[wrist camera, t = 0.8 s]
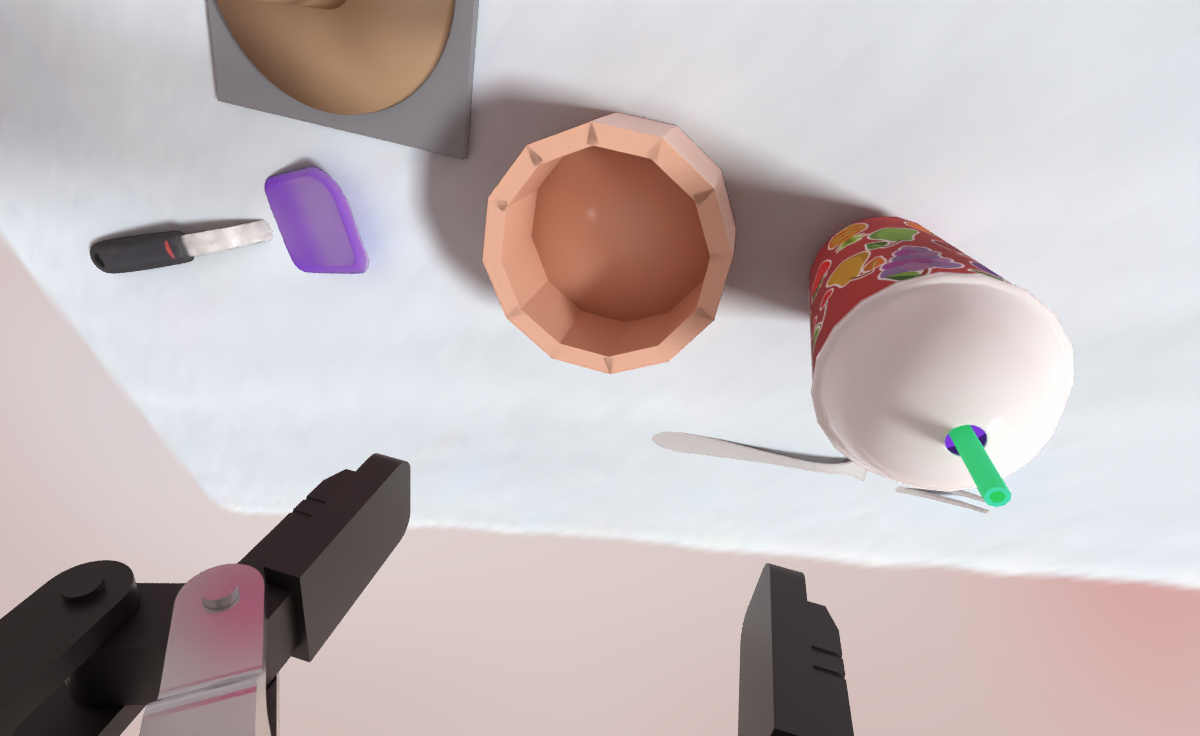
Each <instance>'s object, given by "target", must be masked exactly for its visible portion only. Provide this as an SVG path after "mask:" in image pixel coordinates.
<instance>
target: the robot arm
mask: <svg viewBox="0 0 1200 736" xmlns="http://www.w3.org/2000/svg"><path fill="white" fill-rule="evenodd" d="M409 518H410V465H409V463H408V462H406V461H403V460H399V459H396V458H392V457H389V456H385V455H381V454H378V453H375V454H373V455H371V456H370V457H369V458H368V459H367V460H366V461H365V462H364V463H363V464H362V465H361V466H360V467H359V468H358V470H357V471H356V472H355V471H351V470H348V469H345V470H343V471H341V472H339V473H337V474H335V475H333V476H331V477H329V478H327V479H325V480H323V481H322V482H321V483H320V484H319V485H318V486H317V487H316V488H315V489H314V490H313V491H312V492H311V493H310V494H309V495H308V496H307V498H306V500H303V501H302V502H301V503H300V504H298V505H297V506H296V507H295V508H294V509H293V512H292V513H289V514H288V515H287V516H286V517H285V518H284V519H283V520H282V521H281V522H280V523H279V524H278V525H277V526H276V527H275V528H274V529H273V530H272V531H271V532H270V533H269V534H268V535H267V536H265V538H263V540H261V541H260V542H259V543H258V544H257V545H256V546H255V547H254V548H253V549H252V550H251V551H250V552H249V553H248V554H247V555H246V556H245V557H244V558H243V559H242V560H241V561H240V562H238V563H237V564H226V565H220V566H216V567H213V568H211V569H208V570H205V571H203V572H201V573H200V574H198V575H196V576H195V577H193V578H192V579H191V580H189V581H188V582H187V583H180V584H176V583H171V584H169V583H136V582H135V578H134V575H133V572H132V570H131V569H130V568H129V567H128V566H127V565H125V564H123V563H120V562H117V561H109V560H103V561H94V562H89V563H85V564H81V565H78V566H75V567H73V568H71V569H69V570H66V571H64V572H62V573H60V574H59V575H57V576H55V577H54V578H52V579H51V580H49V581H48V582H47V583H46V584H44V585H43V586H42V587H40V588H39V589H38V590H37V591H35V592H34V593H33V594H32V595H30V596H29V597H28V598H27V599H25V600H24V601H23V602H22V603H20V604H19V605H18V606H17V607H15V608H14V609H13V610H12V611H10V612H9V613H8V614H7V615H5V616H4V617H3V618H1V619H0V736H120V734H121V733H122V732H123V731H124V730H125V729H126V728H127V727H128V725H129V724H130V723H131V722H132V721H133V720H134V718H135V717H136V716H137V715H138V714H139V713H140V712H141V710H142V709H143V708H144V707H145V706H146V705H147V706H146V709H145V711H144V715H143V719H142V724H141V730H140V735H139V736H279V671H280V669H281V668H282V667H283V665H284V664H285V663H286V662H287V660H288V659H289V658H290V657H291V656H292V657H295V658H298V659H301V660H304V661H307V662H310V661H311V660H312V659H313V658H314V656H315V655H316V654H317V652H318V651H319V650H320V648H321V647H322V646H323V644H324V643H325V641H326V640H327V639H328V637H329V636H330V635H331V633H332V632H333V631H334V629H335V628H336V627H337V625H338V624H339V623H340V621H341V620H342V619H343V617H344V616H345V615H346V613H347V612H348V611H349V609H350V608H351V606H352V605H353V604H354V602H355V601H356V600H357V598H358V597H359V596H360V594H361V593H362V592H363V590H364V589H365V588H366V586H367V585H368V584H369V582H370V581H371V579H372V578H373V577H374V575H375V574H376V573H377V571H378V570H379V569H380V567H381V566H382V565H383V563H384V562H385V561H386V559H387V558H388V556H389V555H390V554H391V552H392V551H393V550H394V548H395V547H396V546H397V544H398V543H399V542H400V540H401V539H402V537H403V535H404V533H405V531H406V528H407V526H408V522H409ZM841 657H842V650H841V643H840V636H839V630H838V628H837V626H836V625H835V623H834V621H833V619H832V618H831V616H830V614H829V612H828V610H827V609H826V607H825V606H822V605H819V604H815V603H812V602H808V601H807V594H806V584H805V577H804V574H803V573H801V572H798V571H794V570H791V569H787V568H783V567H780V566H776V565H772V564H769V563H767V564H766V565H765V566H764V568H763V571H762V573H761V576H760V578H759V581H758V583H757V586H756V589H755V591H754V594H753V596H752V599H751V601H750V604H749V606H748V609H747V612H746V615H745V619H744V622H743V628H742V634H741V646H740V683H739V722H738V736H854V733H853V726H852V720H851V712H850V706H849V699H848V691H847V685H846V680H845V679H844V677H845V671H844V664H843V659H842V658H841Z"/></svg>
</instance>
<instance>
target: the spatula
mask: <svg viewBox="0 0 1200 736" xmlns="http://www.w3.org/2000/svg"><path fill="white" fill-rule="evenodd" d="M265 192H266V195H267V198H268V201H269V204H270V207H271V210H272V212H273V215H274V217H275V220H276V222H277V225H278V228H279V230H280V232H281V235H282V237H283V240H284V243H285V245H286V248H287V250H288V252H289V254H290V256H291V259H292V261H293V262H294V264H295V265H296V266H297V267H298V268H299V269H300V270H302V271H304V272H312V273H341V274H343V273H345V274H346V273H350V274H356V273H364V272H366V270H367V269H368V266H369V259H368V257H367V254H366V251H365V249H364V246H363V243H362V240H361V237H360V235H359V232H358V229H357V227H356V224H355V221H354V218H353V215H352V211H351V208H350V206H349V203H348V201H347V199H346V197H345V196H344V194H343V192H342V190H341V189H340V187H339V186H338V184H337V183H336V182H335V181H334V180H333V179H332V178H331V177H330V176H329V175H328V174H327V173H326V172H324V171H322V170H321V169H318V168H317V167H308V168H304V169H300V170H295V171H289V172H285V173H282V174H279V175H275V176H272V177H269V178H268V179H267V180H266V182H265ZM272 239H273V231H272V229H271V227H270V226H269V224H268V223H267V222H266V221H265V220H258V221H253V222H250V223H244V224H239V225H235V226H230V227H225V228H219V229H214V230H208V231H203V232H196V233H191V234H184V233H183V232H181V231H170V232H160V233H152V234H143V235H137V236H128V237H122V238H116V239H110V240H106V241H101V242H98V243H95V244H94V245H93V246H92V247H91V249H90V255H91V259H92V261H93V263H94V264H95V265H96V266H97V267H98V268H99V269H100V270H102V271H103V272H106V273H125V272H133V271H141V270H147V269H153V268H159V267H165V266H171V265H175V264H181V263H186V262H190V261H192V260H193V259H194V256H200V255H205V254H210V253H215V252H221V251H226V250H231V249H234V248H239V247H244V246H248V245H253V244H256V243H261V242H265V241H269V240H272Z"/></svg>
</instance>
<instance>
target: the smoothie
mask: <svg viewBox="0 0 1200 736" xmlns="http://www.w3.org/2000/svg"><path fill="white" fill-rule="evenodd" d="M808 289H809V312H810V335H811V359H812V389H811V395H812V399H813V404H814V409H815V413H816V418H817V422H818V424H819V425H820V427H821V428H822V430H823V431H824V433H825V434H826V436H827V437H828V439H829V440H830V442H831V443H832V445H833V446H834V448H836V449H837V450H838V451H839V452H841V453H842V454H843V455H845V456H846V457H847V458H849V459H850V460H851V461H852V462H854V463H855V464H856V465H858V466H859V467H860V468H863V469H865V470H868V471H871V472H873V473H876V474H879V475H881V476H882V477H885V478H888V479H890V480H893V481H896V482H898V483H901V484H904V485H906V486H909V487H913V488H919V489H928V490H936V491H945V492H949V491H957V490H966V489H974V488H978V490H979V492H980V494H981V495H982V497H983V499H984V501H985V502H986V503H987V504H988V505H991V506H995V507H998V506H1002V505H1005V504H1006V503H1008V502H1009V501H1010V499H1011V493H1010V491H1009V490H1008V488H1007V486H1006V484H1005V483H1004V481H1003V479H1004V478H1007V477H1008V476H1010V475H1011V474H1013V473H1014V472H1016V471H1017V470H1019V469H1020V468H1021V467H1023V466H1024V465H1026V464H1027V463H1029V462H1030V461H1032V459H1033V458H1034V457H1035V456H1036V455H1037V454H1038V452H1039V451H1040V450H1041V449H1042V448H1043V446H1044V445H1045V444H1046V443H1047V442H1048V440H1049V439H1050V438H1051V437H1052V435H1053V434H1054V433H1055V430H1056V428H1057V425H1058V422H1059V419H1060V417H1061V415H1062V413H1063V410H1064V407H1065V404H1066V401H1067V399H1068V396H1069V393H1070V390H1071V388H1072V385H1073V382H1074V368H1073V346H1072V344H1071V342H1070V340H1069V338H1068V336H1067V334H1066V332H1065V330H1064V329H1063V327H1062V325H1061V323H1060V321H1059V319H1058V317H1057V315H1056V314H1055V313H1054V312H1053V311H1052V310H1050V309H1049V308H1048V307H1047V306H1046V305H1044V304H1043V303H1042V302H1041V301H1040V300H1038V299H1037V298H1036V297H1035V296H1034V295H1032V294H1031V293H1030V292H1029V291H1028V290H1026V289H1024V288H1021V287H1018V286H1015V285H1013V284H1011V283H1009V282H1008V281H1007V280H1005V279H1003V278H1002V277H1000V276H999V275H997V274H996V273H994V272H993V271H991V270H989V269H988V268H986V267H985V266H983V265H982V264H980V263H978V262H977V261H975V260H974V259H972V258H971V257H969V256H967V255H966V254H964V253H963V252H961V251H960V250H958V249H956V248H955V247H953V246H952V245H950V244H949V243H947V242H945V241H944V240H942V239H941V238H939V237H938V236H936V235H934V234H933V233H931V232H930V231H928V230H927V229H925V228H923V227H922V226H920V225H919V224H917V223H914V222H911V221H908V220H905V219H902V218H899V217H873V218H869V219H866V220H862V221H859V222H855V223H852V224H850V225H849V226H847V227H846V228H844V229H843V230H841V231H839V232H838V233H836V234H835V235H833V236H832V237H831V238H830V239H829V241H828V242H827V243H826V244H825V245H824V246H823V247H822V248H821V249H820V251H819V252H818V254H817V256H816V259H815V261H814V263H813V265H812V267H811V270H810V278H809V287H808Z"/></svg>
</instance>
